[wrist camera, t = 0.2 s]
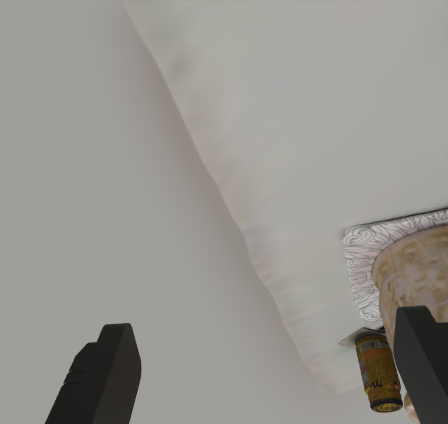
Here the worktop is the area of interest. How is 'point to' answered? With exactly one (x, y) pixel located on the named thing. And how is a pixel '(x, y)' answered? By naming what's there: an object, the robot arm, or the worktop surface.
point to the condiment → (377, 369)
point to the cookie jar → (399, 270)
